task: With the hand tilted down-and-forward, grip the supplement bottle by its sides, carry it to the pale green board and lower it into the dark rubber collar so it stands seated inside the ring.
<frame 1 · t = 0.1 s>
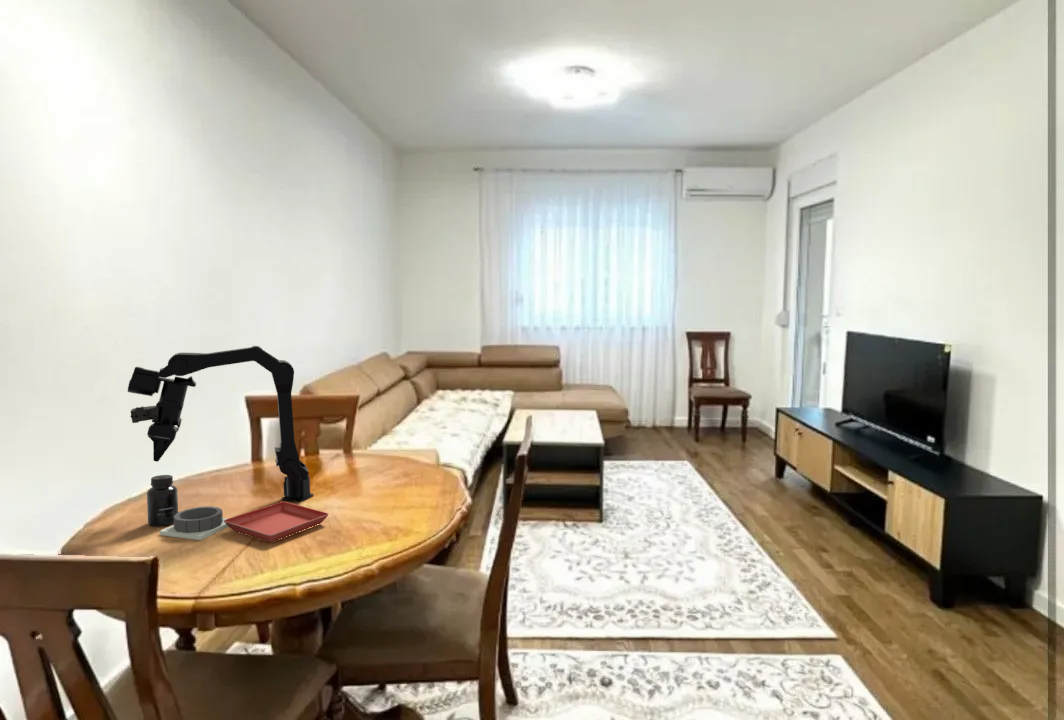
hand: (157, 457, 171), 15 cm above the table, tool pointing down, fingers open, 9 cm apart
supplement bottle: (163, 523, 166), on the table
collar: (198, 519, 161), on the board, point 2 cm above the table
plant saucer: (277, 530, 163), on the table
board: (199, 529, 162), on the table
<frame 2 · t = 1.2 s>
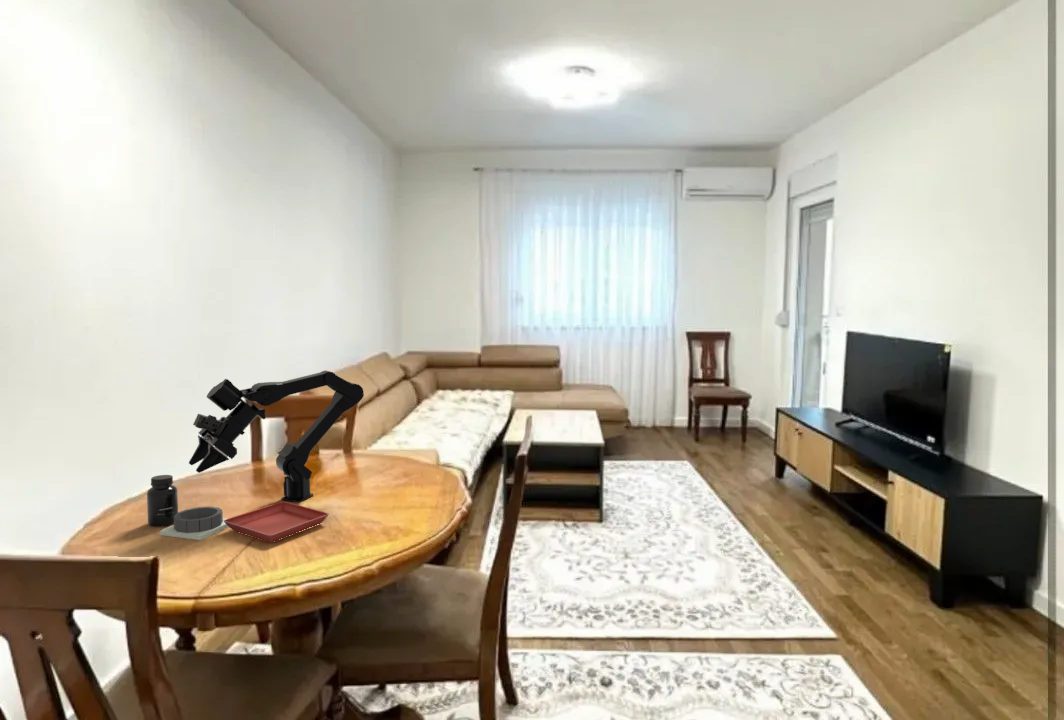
hand: (193, 467, 169), 13 cm above the table, tool tilted 45°, fingers open, 9 cm apart
nothing on the table moved.
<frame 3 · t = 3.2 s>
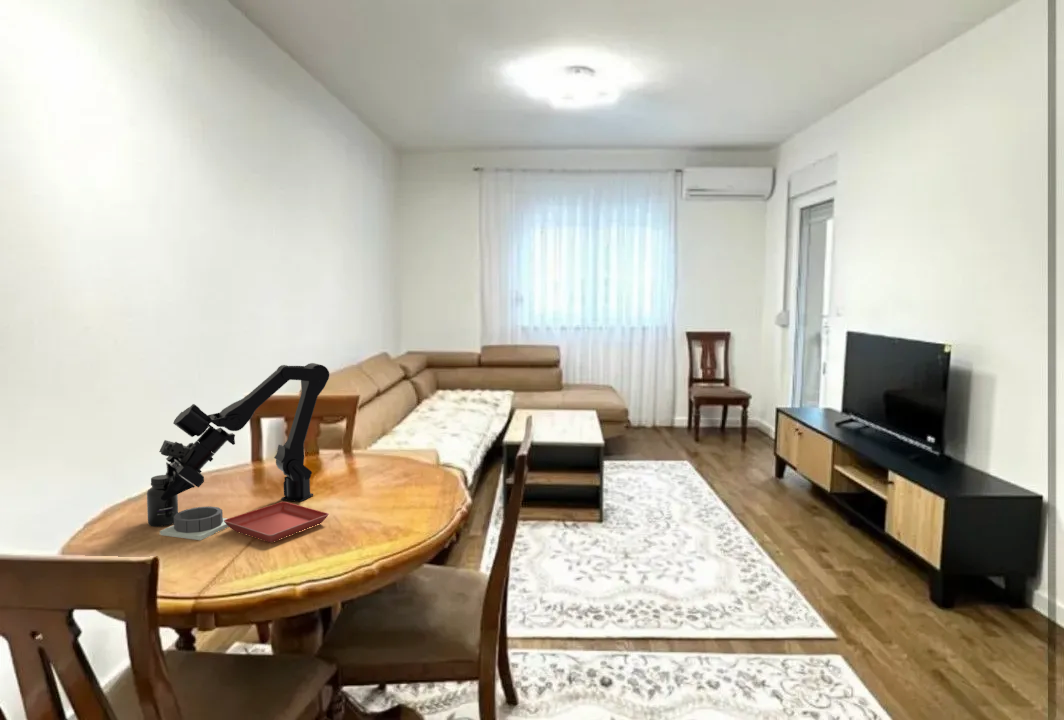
hand: (159, 496, 165), 7 cm above the table, tool tilted 45°, fingers closed on supplement bottle, 7 cm apart
supplement bottle: (163, 523, 166), on the table, touching gripper
everything else where it was.
when the fingers open (10 cm above the table, at t = 6.3 s): supplement bottle drops 2 cm, resting on board.
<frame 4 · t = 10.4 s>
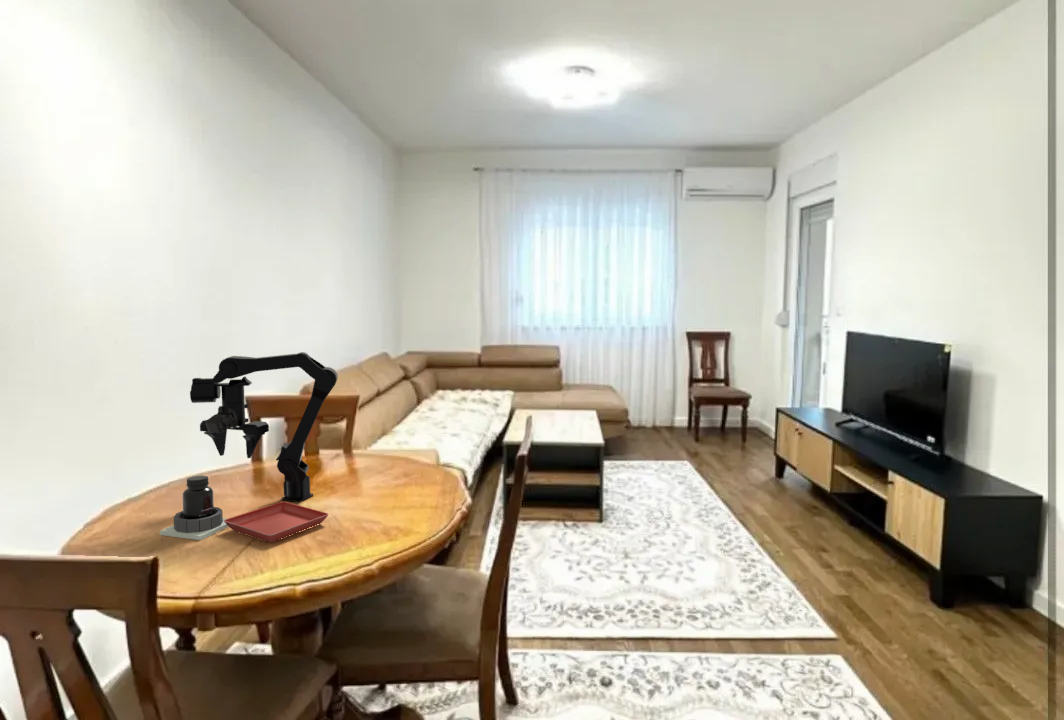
hand: (235, 456, 182), 13 cm above the table, tool pointing down, fingers open, 9 cm apart
supplement bottle: (199, 525, 162), point 1 cm above the table, touching board
everything else where it was.
at the end: supplement bottle 0.2 cm off-centre on the collar, point 0.8 cm above the collar's base; supplement bottle tilted 0°; the gripper is holding nothing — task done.
